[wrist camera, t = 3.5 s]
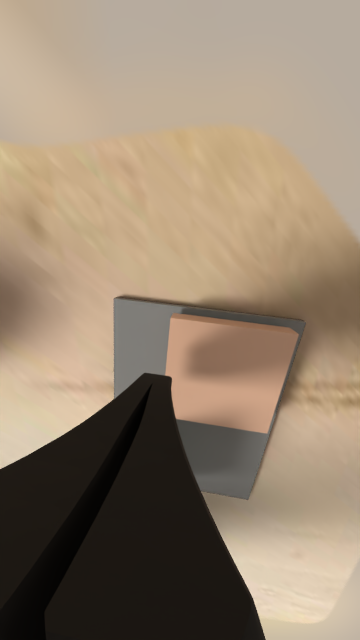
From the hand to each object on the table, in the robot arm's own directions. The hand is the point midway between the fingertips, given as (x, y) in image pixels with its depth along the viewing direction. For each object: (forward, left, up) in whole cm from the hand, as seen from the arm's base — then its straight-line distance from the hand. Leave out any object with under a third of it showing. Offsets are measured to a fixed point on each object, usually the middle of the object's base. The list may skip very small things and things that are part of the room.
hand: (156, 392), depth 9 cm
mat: (+2, -4, -4) cm, 6 cm away
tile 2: (0, 0, -2) cm, 3 cm away
